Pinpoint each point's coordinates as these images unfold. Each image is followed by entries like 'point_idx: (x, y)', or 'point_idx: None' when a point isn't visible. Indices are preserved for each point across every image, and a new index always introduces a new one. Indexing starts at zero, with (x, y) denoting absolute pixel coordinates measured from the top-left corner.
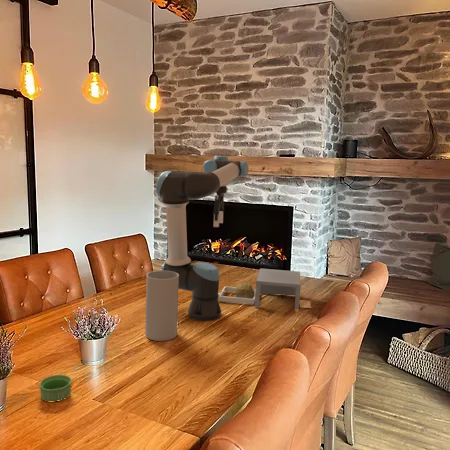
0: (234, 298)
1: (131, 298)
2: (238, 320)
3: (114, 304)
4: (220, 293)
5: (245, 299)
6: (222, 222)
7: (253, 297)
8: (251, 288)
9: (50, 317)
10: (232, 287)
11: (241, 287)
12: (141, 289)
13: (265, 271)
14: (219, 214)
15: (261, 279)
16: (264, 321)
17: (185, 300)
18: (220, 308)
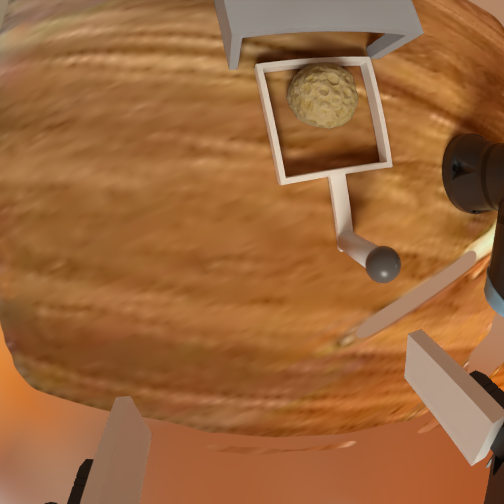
0: (382, 116)
1: None
2: (462, 92)
3: None
4: (365, 170)
5: (375, 82)
6: (129, 402)
7: (352, 60)
8: (334, 65)
9: None
10: (280, 151)
11: (354, 97)
12: (352, 391)
13: (277, 5)
14: (129, 502)
15: (400, 15)
16: (441, 37)
17: (402, 259)
18: (473, 136)
